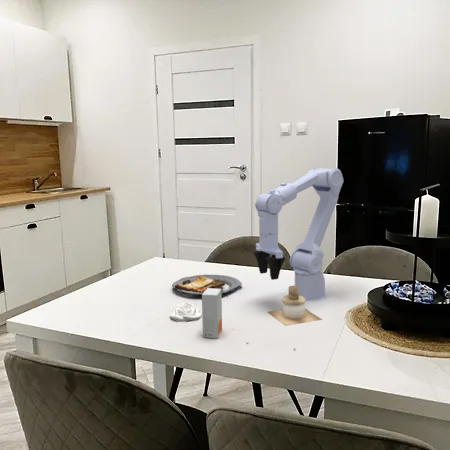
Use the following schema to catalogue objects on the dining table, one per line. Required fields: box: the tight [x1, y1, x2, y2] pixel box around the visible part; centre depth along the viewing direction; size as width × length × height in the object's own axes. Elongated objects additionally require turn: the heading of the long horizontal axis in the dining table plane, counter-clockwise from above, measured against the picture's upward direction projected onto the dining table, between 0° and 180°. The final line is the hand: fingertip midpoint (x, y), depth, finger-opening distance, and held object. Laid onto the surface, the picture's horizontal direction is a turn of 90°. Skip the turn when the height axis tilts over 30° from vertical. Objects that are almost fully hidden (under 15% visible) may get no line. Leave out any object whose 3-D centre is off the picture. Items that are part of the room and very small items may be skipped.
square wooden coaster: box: [267, 308, 323, 327], centre depth 134 cm, size 12×12×1 cm
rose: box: [169, 301, 202, 322], centre depth 137 cm, size 10×4×10 cm
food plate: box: [171, 274, 243, 296], centre depth 164 cm, size 25×23×4 cm
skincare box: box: [201, 288, 223, 339], centre depth 123 cm, size 6×4×12 cm
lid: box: [281, 285, 306, 305], centre depth 133 cm, size 7×7×4 cm
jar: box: [282, 302, 306, 319], centre depth 134 cm, size 6×6×4 cm
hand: (268, 276), depth 141 cm, fingers open, 7 cm apart
